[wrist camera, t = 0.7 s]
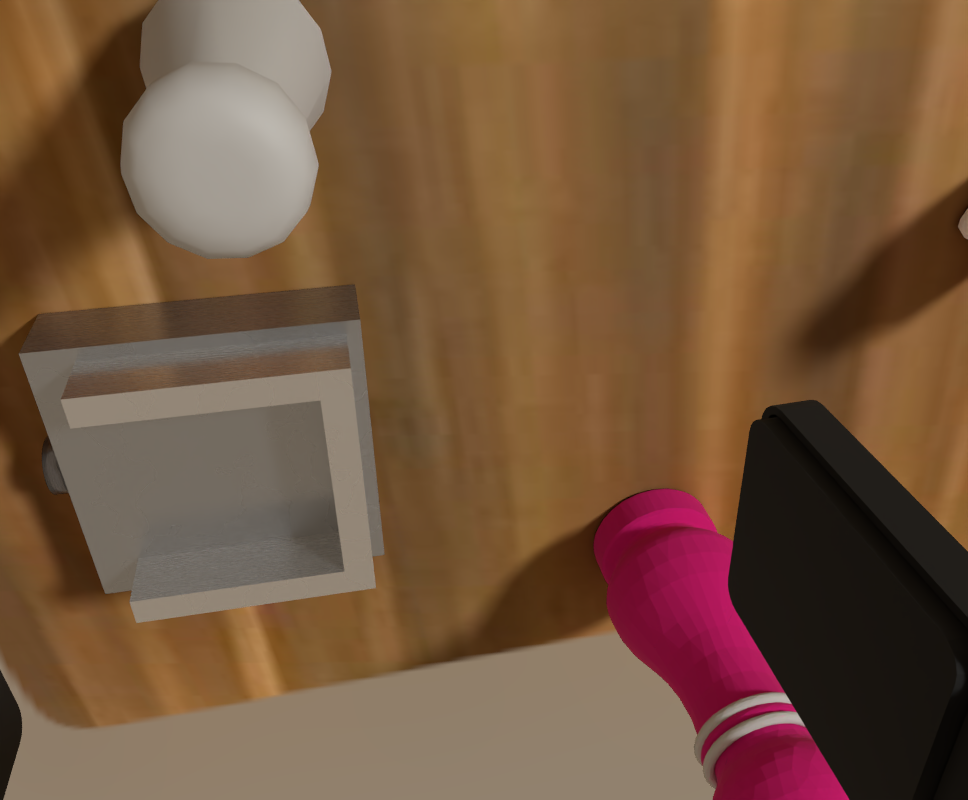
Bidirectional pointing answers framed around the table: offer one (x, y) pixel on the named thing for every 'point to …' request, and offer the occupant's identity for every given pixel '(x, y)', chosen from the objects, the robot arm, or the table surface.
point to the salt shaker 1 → (225, 123)
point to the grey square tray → (213, 446)
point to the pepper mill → (705, 648)
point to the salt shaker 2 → (964, 224)
